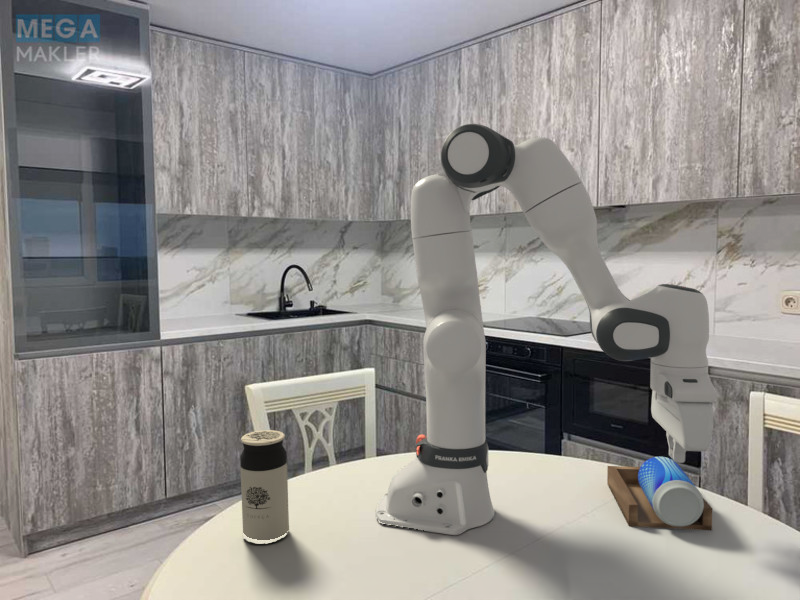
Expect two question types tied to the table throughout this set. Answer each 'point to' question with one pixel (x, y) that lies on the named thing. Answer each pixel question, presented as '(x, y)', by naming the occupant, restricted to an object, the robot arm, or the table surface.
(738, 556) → the table surface
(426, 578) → the table surface
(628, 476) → the open box
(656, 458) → the beer can
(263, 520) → the travel mug
